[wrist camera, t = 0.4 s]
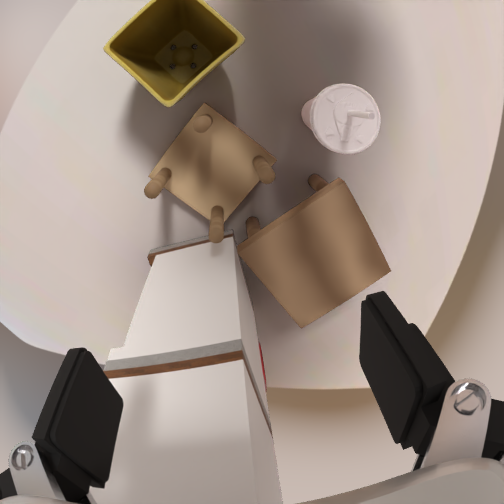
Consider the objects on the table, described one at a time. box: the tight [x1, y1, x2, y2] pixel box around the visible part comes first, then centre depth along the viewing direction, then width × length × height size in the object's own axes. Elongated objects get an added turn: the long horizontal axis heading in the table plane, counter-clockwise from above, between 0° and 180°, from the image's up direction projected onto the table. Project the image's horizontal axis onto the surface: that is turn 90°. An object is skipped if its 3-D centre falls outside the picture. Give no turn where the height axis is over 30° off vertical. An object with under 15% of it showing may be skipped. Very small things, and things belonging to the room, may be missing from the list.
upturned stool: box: [144, 103, 277, 243], centre depth 30 cm, size 10×10×9 cm
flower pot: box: [103, 0, 245, 107], centre depth 24 cm, size 9×9×9 cm
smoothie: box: [301, 83, 381, 154], centre depth 26 cm, size 6×6×14 cm
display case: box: [89, 230, 283, 504], centre depth 25 cm, size 11×11×35 cm
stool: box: [237, 174, 391, 328], centre depth 35 cm, size 12×12×9 cm
